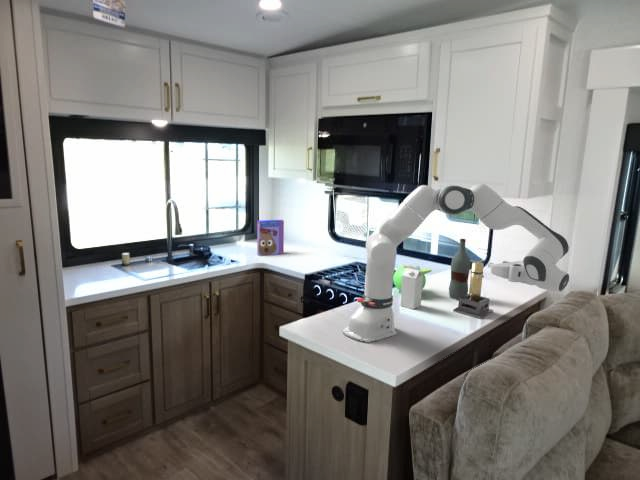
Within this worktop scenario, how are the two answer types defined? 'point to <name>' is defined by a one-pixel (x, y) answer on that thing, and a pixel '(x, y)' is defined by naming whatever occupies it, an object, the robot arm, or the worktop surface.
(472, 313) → the collar stand
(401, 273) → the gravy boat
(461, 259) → the bottle
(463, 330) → the worktop surface
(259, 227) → the cereal box
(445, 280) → the worktop surface
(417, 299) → the milk carton
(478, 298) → the brass tube
